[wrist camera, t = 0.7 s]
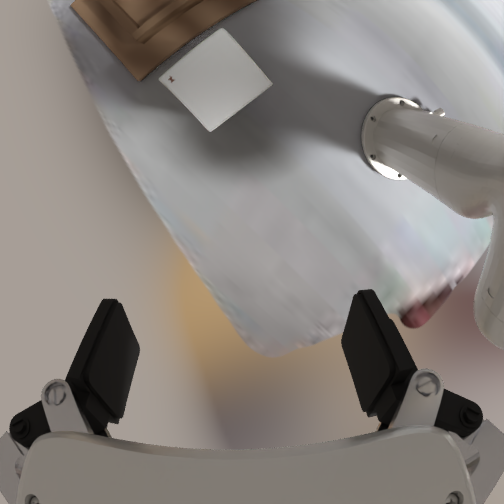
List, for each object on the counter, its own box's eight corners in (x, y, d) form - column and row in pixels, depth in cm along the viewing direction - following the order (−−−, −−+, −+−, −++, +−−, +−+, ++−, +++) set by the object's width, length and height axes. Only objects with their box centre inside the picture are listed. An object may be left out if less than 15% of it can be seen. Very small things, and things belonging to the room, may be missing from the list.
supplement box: (219, 123, 33) (207, 135, 22) (183, 83, 30) (154, 78, 19) (264, 89, 31) (275, 85, 20) (228, 48, 28) (221, 24, 17)
